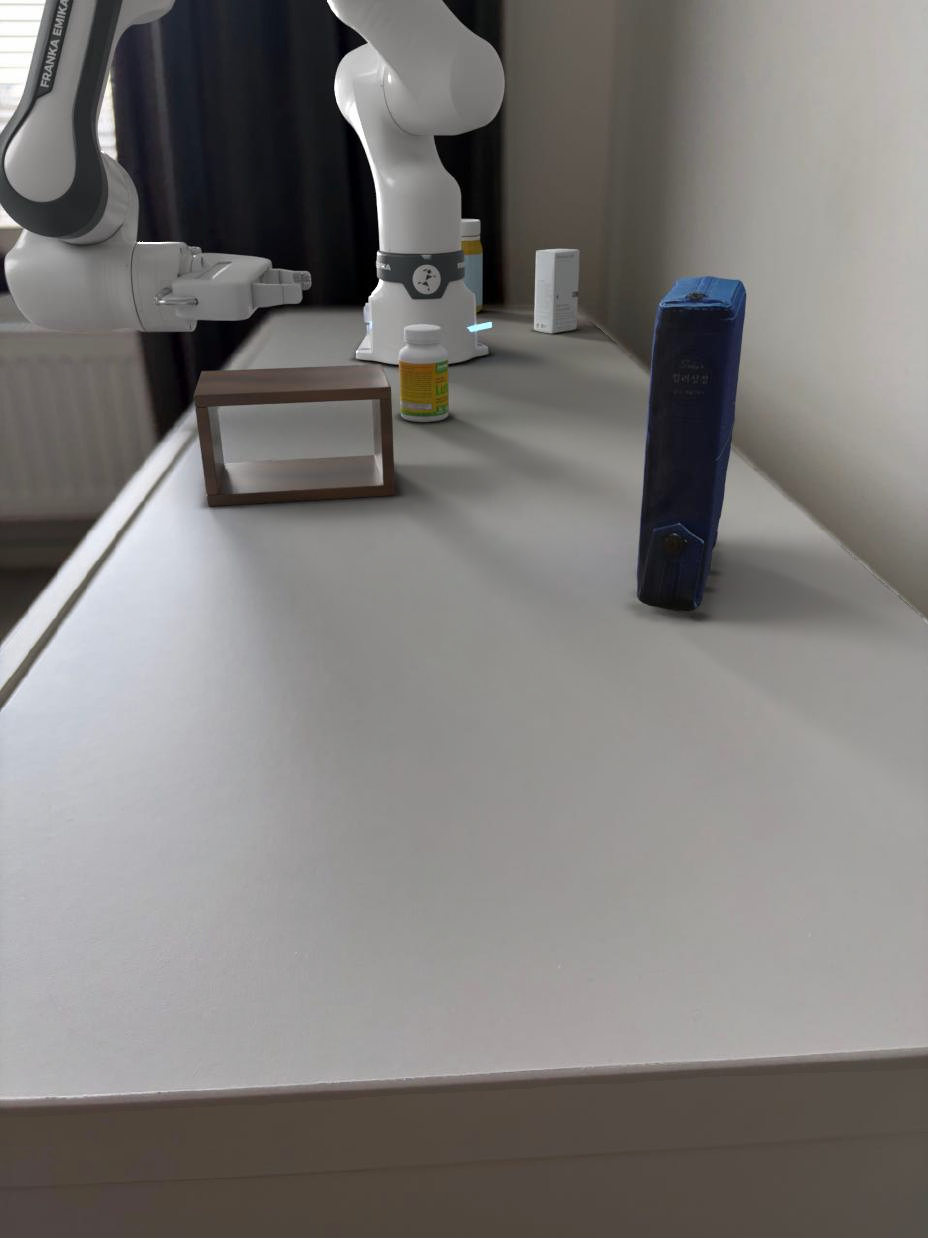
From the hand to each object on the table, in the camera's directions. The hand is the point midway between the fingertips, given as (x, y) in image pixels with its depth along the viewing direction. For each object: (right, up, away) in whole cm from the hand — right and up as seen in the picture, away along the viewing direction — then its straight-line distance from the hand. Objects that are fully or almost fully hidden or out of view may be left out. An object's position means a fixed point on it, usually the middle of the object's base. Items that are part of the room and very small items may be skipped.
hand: (306, 286), depth 101 cm
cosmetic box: (+31, +11, +54) cm, 63 cm away
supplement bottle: (+12, -12, +7) cm, 19 cm away
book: (+32, -32, -32) cm, 55 cm away
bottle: (+16, +20, +70) cm, 75 cm away
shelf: (+2, -23, -14) cm, 27 cm away
